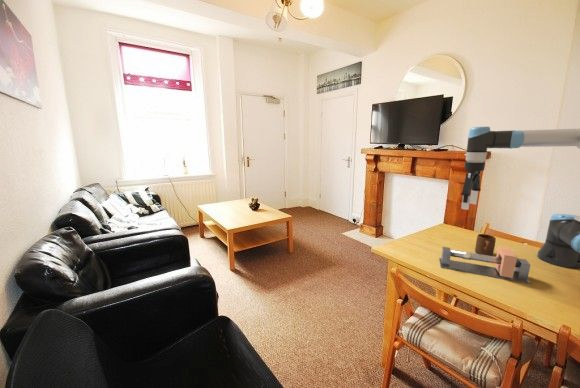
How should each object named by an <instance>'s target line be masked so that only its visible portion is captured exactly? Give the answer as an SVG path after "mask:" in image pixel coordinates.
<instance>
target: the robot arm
mask: <svg viewBox="0 0 580 388" xmlns="http://www.w3.org/2000/svg"><path fill="white" fill-rule="evenodd" d="M521 147H522V148H524V147H525V148H526V147H528V148H529V147H531V148H534V147H538V148H540V147H576V148H577V149H580V128H555V129H529V130H528V129H524V130H520V129H519V130H491V127H490V126H472V127H470V129H469V132H468V136H467V146H466V153H464V156H465V162H464V171H468V172H467V173H466V174H465V179H464V184H463V187H462V191H461V192H460V195H461V196H462V198H461V199H462V200H461V208H460V209H461V210H467V211H469V209H470V208H469V207H470V205H477V203H478V196H479V192H480V191H481V172H482V171H484V170H485V167H486V163H485V161H486V160H487V154H488V149H520V148H521ZM536 256H537V258H538V259H540V260H542V261H544V262H545V263H549V264H550V265H555V266H558V267H563V268H569V269H570V268H571V269H579V268H580V215H578V214H577V215H575V214H569V213H568V214H567V213H554V214H552V215H551V216H550V220H549V224H548V228H547V231H546V238H545V242H544V243H543V245H542V246H541V247H540V248H539V250H538V251H537V255H536Z"/></svg>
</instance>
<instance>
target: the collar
mask: <svg viewBox="0 0 580 388" xmlns="http://www.w3.org/2000/svg"><path fill="white" fill-rule="evenodd" d="M495 257H501V258H502V261H501V264H495V263H494V267H495V268H496V269H497V271H498V272H499V274H500V276H503V277H509V278H513V274H514V271H515V264H516V260H517V258H518V256H517V255H516V254H515V252H514V251H513V250H512V249H511V248H510V247H504V246H499V245H498V247H497V251H496V256H495Z"/></svg>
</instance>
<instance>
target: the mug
mask: <svg viewBox="0 0 580 388" xmlns="http://www.w3.org/2000/svg"><path fill="white" fill-rule="evenodd" d="M496 240H497V239H496V237H495V236H493V235H490V234H485V233H479V234H477V237H476V243H475V248H474V251H475V254H482V255H488V256H493V255H494V253H495V248H496V247H495V246H496Z"/></svg>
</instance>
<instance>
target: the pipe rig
mask: <svg viewBox="0 0 580 388" xmlns="http://www.w3.org/2000/svg"><path fill="white" fill-rule="evenodd" d="M451 257H453V258H459V259H462V260H469V261H471V260H472V261H476V262H484V263H490V264H494V265H495V264H501V261H502V258H501V257H496V256H493V255H492V256H488V255H482V254H477V253H476V252H475V253H473V252H471V251H470V252H469V251H464V250H463V251H462V250H454V249H451V247H447V246H442V249H441V256H440V257H439V258H438V260H439V265H440V268H441V269H447V270H453V271H459V272H463V273H468V274H475V275H480V276H486V277H491V278H497V279H503V280H507V281H512V282H513V281H514V282H519V283H524V284H529V285H531V284H532V283H531V281H530V280H529V273H530V269H531V263H530V262H529V261H528V260H527V259H526V258H525V259H524V258H519V257H517V260H516V264H515V269H514V274H513V278H509V277H503V276H500V274H499V272H498V271H497V269H496V267H495V266H494V267H493V266H488V265H483V264H482V265H481V264H477V263H471V262H465V261H459V260H454V259H453V260H452V259H451Z"/></svg>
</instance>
